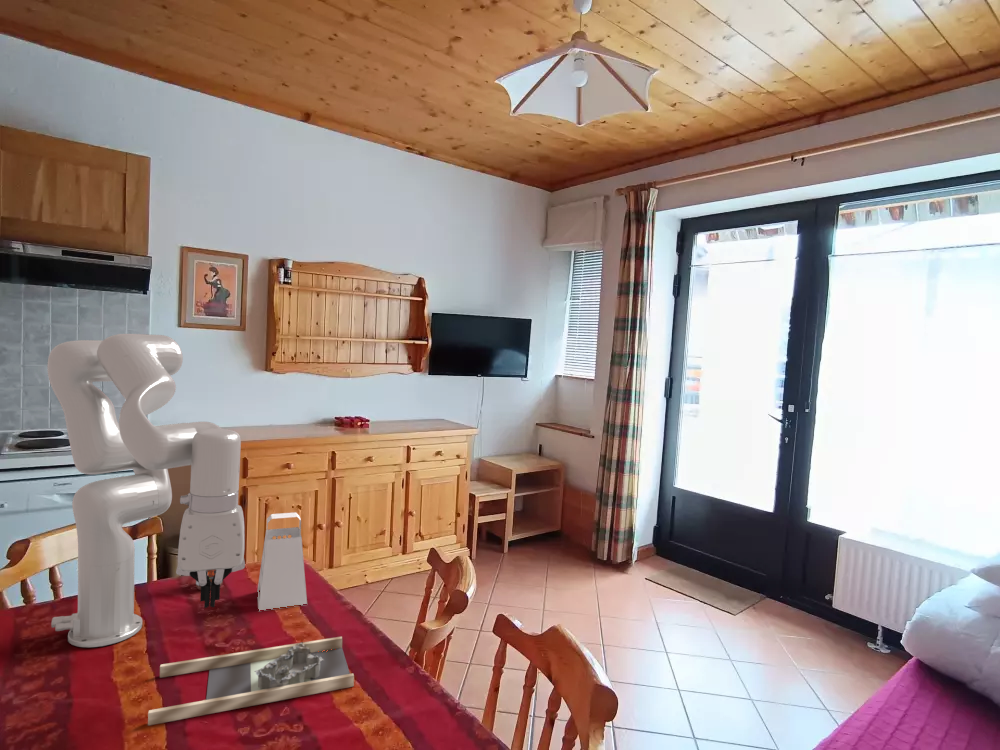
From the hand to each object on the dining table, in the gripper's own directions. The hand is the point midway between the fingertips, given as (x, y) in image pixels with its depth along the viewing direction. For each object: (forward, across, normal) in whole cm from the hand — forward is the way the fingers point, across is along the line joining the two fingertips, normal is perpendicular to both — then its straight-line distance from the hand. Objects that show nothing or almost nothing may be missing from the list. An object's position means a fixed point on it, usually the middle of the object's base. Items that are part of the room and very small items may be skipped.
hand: (209, 603), depth 101 cm
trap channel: (+15, +8, -1) cm, 17 cm away
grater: (+16, +14, +32) cm, 39 cm away
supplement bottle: (+17, -2, +44) cm, 48 cm away
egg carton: (+15, +14, -3) cm, 20 cm away
